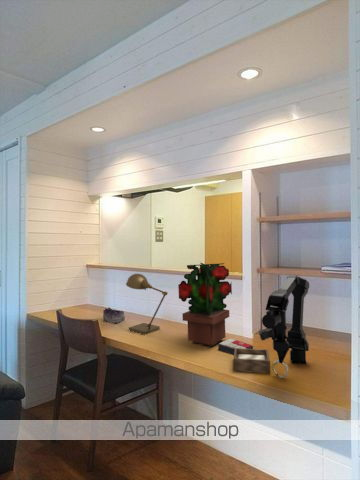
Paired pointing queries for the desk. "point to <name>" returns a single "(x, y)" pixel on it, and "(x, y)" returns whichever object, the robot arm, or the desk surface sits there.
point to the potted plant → (206, 303)
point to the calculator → (233, 346)
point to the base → (251, 360)
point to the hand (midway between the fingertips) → (279, 358)
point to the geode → (113, 315)
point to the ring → (284, 365)
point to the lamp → (141, 283)
